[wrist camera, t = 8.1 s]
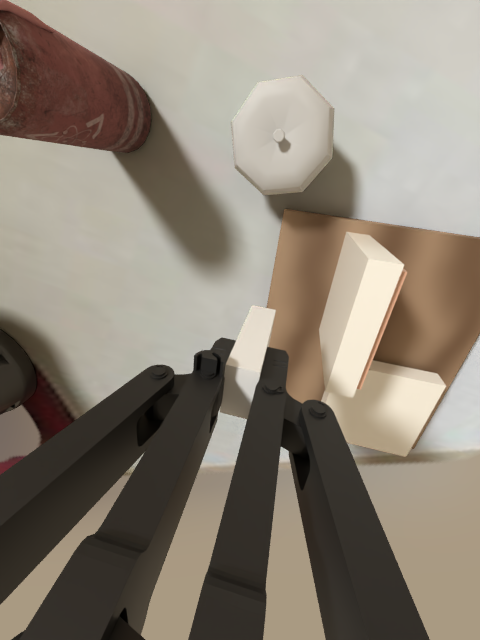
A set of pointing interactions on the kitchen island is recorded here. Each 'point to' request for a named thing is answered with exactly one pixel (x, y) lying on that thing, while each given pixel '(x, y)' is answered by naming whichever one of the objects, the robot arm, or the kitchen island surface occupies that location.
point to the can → (65, 89)
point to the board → (408, 312)
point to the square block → (387, 407)
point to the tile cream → (357, 311)
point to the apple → (283, 135)
